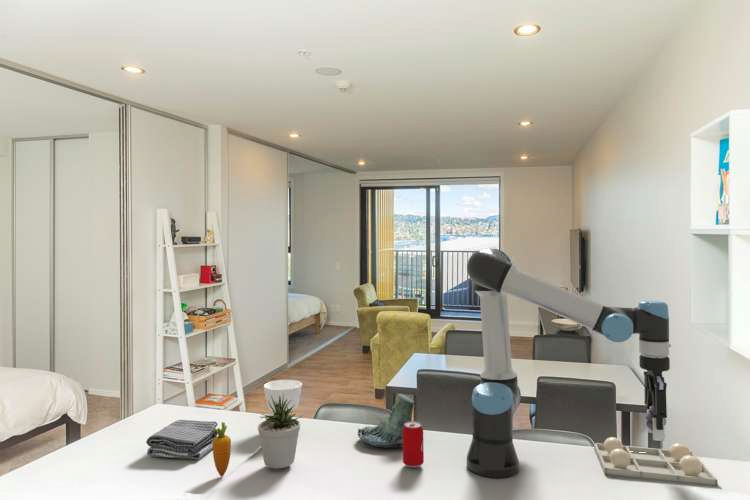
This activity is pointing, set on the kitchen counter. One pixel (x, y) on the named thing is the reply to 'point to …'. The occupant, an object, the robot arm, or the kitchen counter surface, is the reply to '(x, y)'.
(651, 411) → the seashell
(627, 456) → the egg near left
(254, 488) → the kitchen counter surface
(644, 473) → the egg tray
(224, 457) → the carrot
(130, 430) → the kitchen counter surface
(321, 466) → the kitchen counter surface
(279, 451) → the potted plant
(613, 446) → the egg far left
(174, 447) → the towel
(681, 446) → the egg far right
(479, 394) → the robot arm
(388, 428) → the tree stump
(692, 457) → the egg near right
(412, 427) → the beverage can
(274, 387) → the cup
